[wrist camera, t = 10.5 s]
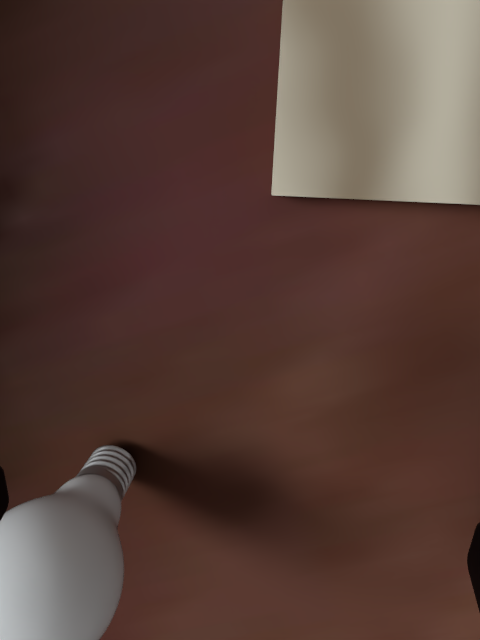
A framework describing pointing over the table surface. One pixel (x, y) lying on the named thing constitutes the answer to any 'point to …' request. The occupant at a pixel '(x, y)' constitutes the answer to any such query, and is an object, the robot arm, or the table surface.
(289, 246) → the table surface
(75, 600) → the lightbulb
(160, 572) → the table surface
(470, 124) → the board
